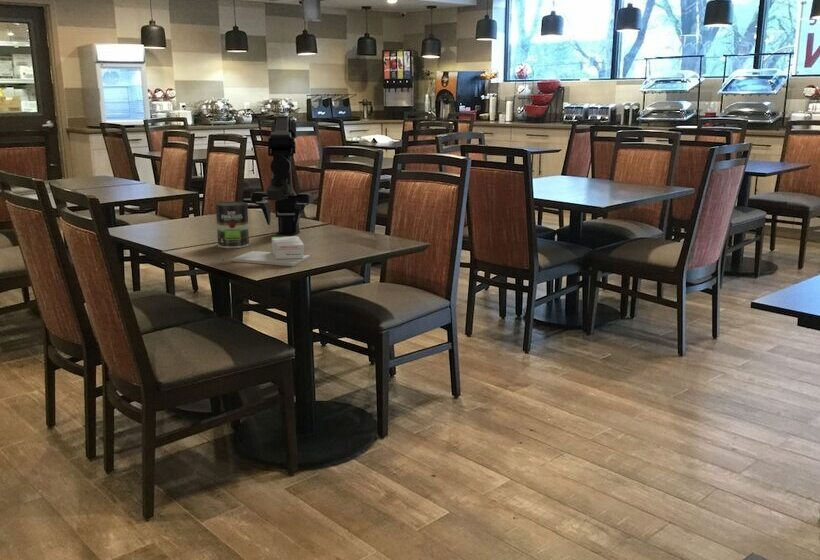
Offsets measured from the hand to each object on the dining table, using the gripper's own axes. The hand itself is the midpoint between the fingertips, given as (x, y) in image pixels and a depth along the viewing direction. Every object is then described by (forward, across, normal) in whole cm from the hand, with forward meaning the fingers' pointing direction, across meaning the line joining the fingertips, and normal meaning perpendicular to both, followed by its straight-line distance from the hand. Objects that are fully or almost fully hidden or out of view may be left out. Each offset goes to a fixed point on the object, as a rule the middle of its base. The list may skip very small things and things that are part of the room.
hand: (282, 225), depth 232 cm
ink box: (+6, +1, +1) cm, 6 cm away
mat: (+10, -1, -8) cm, 13 cm away
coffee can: (+9, -20, +10) cm, 24 cm away
